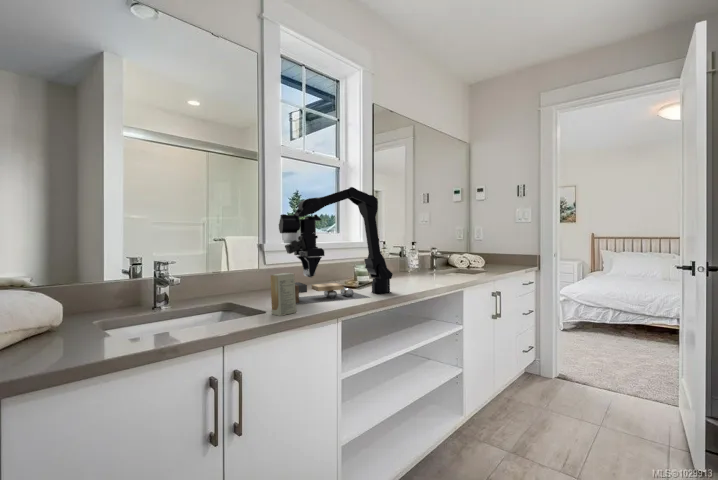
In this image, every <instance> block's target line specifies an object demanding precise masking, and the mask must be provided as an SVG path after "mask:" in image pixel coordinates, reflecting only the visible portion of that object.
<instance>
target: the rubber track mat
mask: <svg viewBox="0 0 718 480" xmlns="http://www.w3.org/2000/svg"><path fill="white" fill-rule="evenodd" d="M353 292H354V291H353ZM368 298H369V299H370V298H371V299H372V297H371V296H368V295H365V294H361V293H358V292H354V294H353V296H352V297H347V296H344V295H342V294H341V292H340V293H337V297H336V298H334V299H332V298H329V297H327V296H325V295H324V294H320V295H309V296H306V295H305V296H299V303H296V306H297V305H304V304H305V305H307V304H315V303H318V304H319V303H325V302H326V303H328V302H329V303H330V302H339V301H348V300H360V299H361V300H362V299H368Z"/></svg>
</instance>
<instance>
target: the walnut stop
mask: <svg viewBox="0 0 718 480" xmlns="http://www.w3.org/2000/svg"><path fill="white" fill-rule="evenodd" d="M304 293H308V284H306V283H302V282H300V281H298V282H296V281H295V300H296V303H299V297H300V294H304Z"/></svg>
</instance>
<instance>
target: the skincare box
mask: <svg viewBox="0 0 718 480" xmlns="http://www.w3.org/2000/svg"><path fill="white" fill-rule="evenodd" d="M295 279H296V278H295V273H292V272H283V273H276V274H270V295H271V296H270V298H271V299H270V300H271V301H270V302H271V314H272V315H275V316H277V317H281V316H285V315H290V314H295V313H296V312H297V305H296V300H295V283H296V280H295Z"/></svg>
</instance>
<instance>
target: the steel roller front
mask: <svg viewBox="0 0 718 480" xmlns="http://www.w3.org/2000/svg"><path fill="white" fill-rule="evenodd" d="M337 294H338V293H337V290H330V291H323V295H325V296H327V297H329V298H332V299H334V298H336V297H337Z"/></svg>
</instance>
